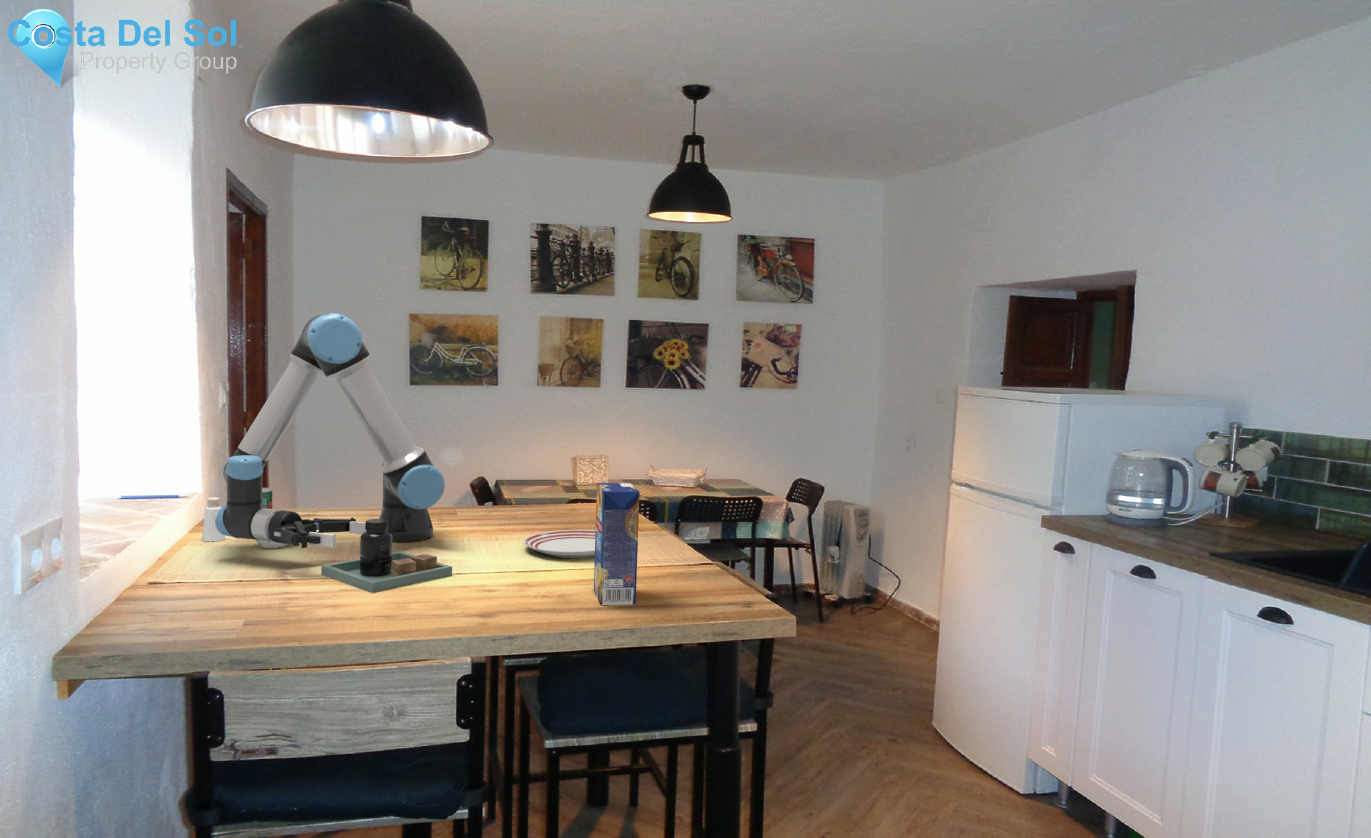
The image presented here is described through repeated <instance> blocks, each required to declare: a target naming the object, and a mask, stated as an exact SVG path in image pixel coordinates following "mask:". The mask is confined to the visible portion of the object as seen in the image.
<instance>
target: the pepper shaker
mask: <svg viewBox="0 0 1371 838" xmlns="http://www.w3.org/2000/svg"><path fill="white" fill-rule="evenodd" d="M206 501H207V507H204V517H203V525H202V533H201V541H202V542H204V541H209V542H208V543H213V542H212V541H218V542H223V541H225V540H226V536H225V535H223V534H221V533H220V532H219V531H218V530H217V528H216V525H215V518H216V517H217V515H218V511H219V510H220V509H221V508H222V507H221V506H220V497H217V496H216V497H213V496H212V497H208V498H207V499H206ZM224 539H225V540H224Z"/></svg>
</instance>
